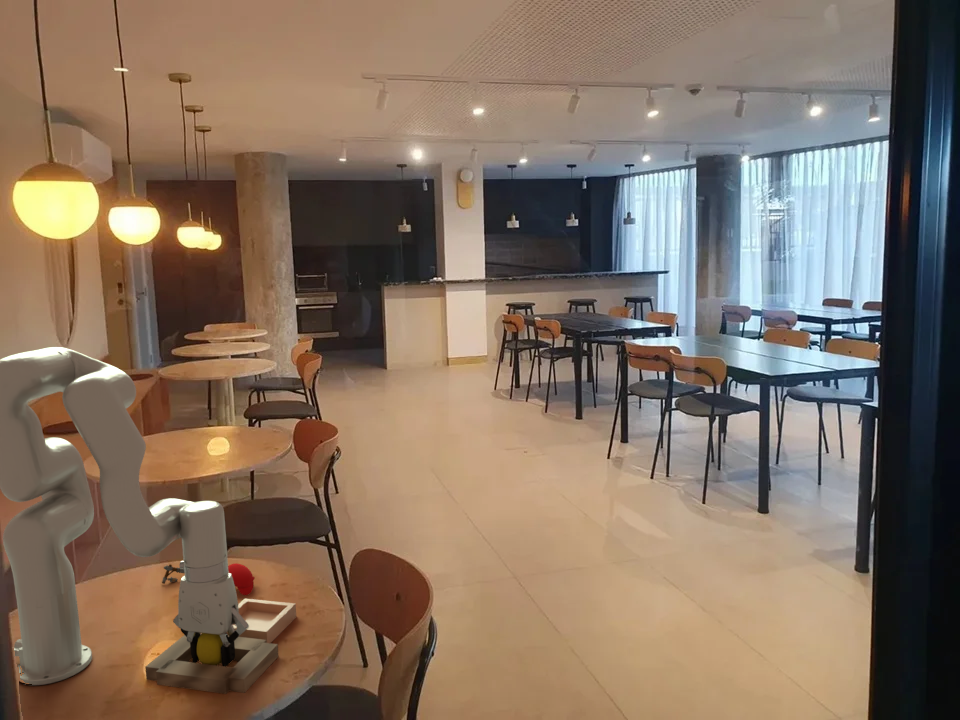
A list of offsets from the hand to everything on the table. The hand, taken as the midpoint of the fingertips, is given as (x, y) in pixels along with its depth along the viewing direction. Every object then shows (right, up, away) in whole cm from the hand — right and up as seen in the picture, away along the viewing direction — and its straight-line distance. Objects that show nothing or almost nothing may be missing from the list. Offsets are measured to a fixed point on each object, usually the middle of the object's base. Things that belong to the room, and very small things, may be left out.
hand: (213, 660), depth 137 cm
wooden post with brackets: (-22, +3, +38) cm, 44 cm away
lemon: (0, -2, 0) cm, 2 cm away
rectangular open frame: (0, -2, 0) cm, 1 cm away
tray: (+4, +1, +15) cm, 15 cm away
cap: (-6, +3, +32) cm, 33 cm away
